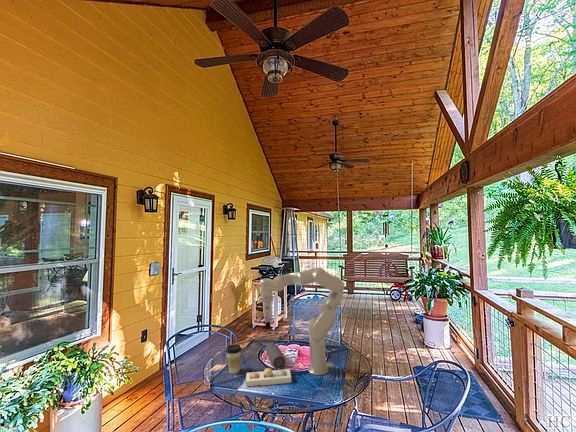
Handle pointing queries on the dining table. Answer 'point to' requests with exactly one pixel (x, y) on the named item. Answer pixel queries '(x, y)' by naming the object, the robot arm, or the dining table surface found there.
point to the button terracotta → (254, 375)
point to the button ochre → (268, 372)
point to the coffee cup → (234, 358)
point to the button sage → (282, 373)
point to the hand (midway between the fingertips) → (268, 328)
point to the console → (268, 378)
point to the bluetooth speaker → (275, 356)
